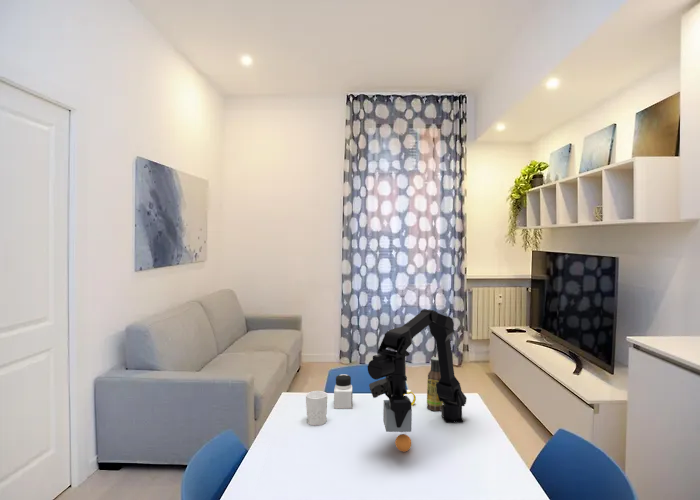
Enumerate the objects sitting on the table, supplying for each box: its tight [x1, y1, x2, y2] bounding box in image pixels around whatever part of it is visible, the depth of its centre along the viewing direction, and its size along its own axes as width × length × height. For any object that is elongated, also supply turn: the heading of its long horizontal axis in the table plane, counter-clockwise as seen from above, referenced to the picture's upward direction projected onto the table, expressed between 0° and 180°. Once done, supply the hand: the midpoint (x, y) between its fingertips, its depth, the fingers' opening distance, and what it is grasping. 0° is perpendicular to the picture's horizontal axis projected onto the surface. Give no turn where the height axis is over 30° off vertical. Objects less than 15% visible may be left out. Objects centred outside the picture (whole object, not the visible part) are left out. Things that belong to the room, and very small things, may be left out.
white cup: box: [305, 390, 328, 427], centre depth 148 cm, size 8×8×10 cm
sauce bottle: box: [426, 356, 443, 412], centre depth 160 cm, size 6×6×20 cm
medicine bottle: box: [333, 374, 353, 410], centre depth 164 cm, size 7×7×12 cm
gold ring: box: [403, 389, 417, 407], centre depth 164 cm, size 6×3×6 cm, turn 103°
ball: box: [394, 433, 412, 453], centre depth 127 cm, size 5×5×5 cm
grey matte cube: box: [382, 399, 413, 433], centre depth 127 cm, size 8×8×7 cm
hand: (396, 421), depth 127 cm, fingers closed on grey matte cube, 8 cm apart
